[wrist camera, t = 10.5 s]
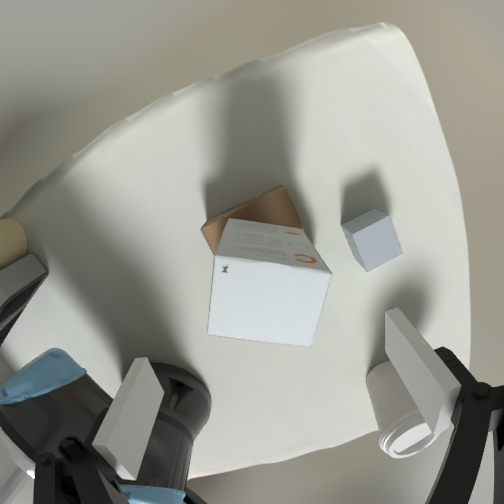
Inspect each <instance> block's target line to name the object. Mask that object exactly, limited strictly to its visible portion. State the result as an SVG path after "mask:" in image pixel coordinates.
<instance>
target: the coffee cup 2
mask: <svg viewBox="0 0 504 504" xmlns="http://www.w3.org/2000/svg"><path fill="white" fill-rule="evenodd" d="M366 385H367V389H368V392H369V396H370V399H371V403H372V406H373V410H374V413H375V417H376V421H377V425H378V428H379V432H380V436H381V437H380V439H379V446H380V447H381V448H382V450H383V451H385V452H386V453H388V454H389V455H390V456H392V457H394V458H403V457H408V456H411V455H414V454H416V453H418V452H420V451H422V450H423V449H425V448H426V447H427V446H429V445H430V444H431V443H432V442H433V441H434V440H435V439H436V438H437V437H438V435H439V433H440V432H439V433H437V434H435V435H433V434H432V432H431V430H430V428H429V427H428V425H427V423H426V421H425V419H424V418H423V416H422V414H421V412H420V410H419V409H418V407H417V405H416V403H415V401H414V400H413V398H412V396H411V394H410V393H409V391H408V389H407V388H406V386H405V384H404V382H403V381H402V379H401V377H400V376H399V374H398V372H397V371H396V369H395V367H394V366H393V364H392V362H391V361H385V362H382V363H380V364H378V365H376V366H375V367H374V368H373V369H372V370H371V371H370V372H369V373H368V375H367V377H366Z"/></svg>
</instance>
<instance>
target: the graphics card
mask: <svg viewBox="0 0 504 504" xmlns="http://www.w3.org/2000/svg"><path fill="white" fill-rule="evenodd" d="M47 276H48V272H47V270H46V269H45V268H44V267H43V265H42V264H41V263H40V261H39V260H38V259H37V257H36V256H35V255H34V253H31V254H29V255H27V256H25V257H23V258H21V259H19V260H18V261H16V262H14V263H12V264H11V265H9V266H7V267H5V268H4V269H2V270H0V346H1V344H2V343H3V341H4V339H5V338H6V336H7V335H8V333H9V331H10V330H11V328H12V327H13V325H14V324H15V322H16V320H17V319H18V318H19V316H20V314H21V313H22V312H23V310H24V308H25V307H26V305H27V304H28V302H29V301H30V300H31V298H32V297H33V295H34V294H35V293H36V291H37V290H38V288H39V287H40V286H41V284H42V283H43V282H44V280H45V279H46V278H47Z"/></svg>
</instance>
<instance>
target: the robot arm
mask: <svg viewBox="0 0 504 504" xmlns="http://www.w3.org/2000/svg"><path fill="white" fill-rule="evenodd" d="M385 352H386V354H387V356H388V357H389V359H390V361H391V362H392V364H393V366H394V367H395V369H396V371H397V372H398V374H399V376H400V377H401V379H402V381H403V382H404V384H405V386H406V388H407V389H408V391H409V393H410V394H411V396H412V398H413V400H414V401H415V403H416V405H417V407H418V409H419V410H420V412H421V414H422V416H423V418H424V419H425V421H426V423H427V425H428V427H429V428H430V430H431V432H432V434H433V435H435V434H437V433H439V432H441V431H444V430H446V429H448V427H449V424H450V421H452V423H453V424H454V426H455V427H454V430H453V432H452V435H451V438H450V442H449V446H448V448H447V451H446V454H445V457H444V460H443V462H442V465H441V468H440V470H439V473H438V475H437V478H436V480H435V483H434V485H433V487H432V489H431V492H430V494H429V496H428V498H427V501H426V503H425V504H468V502H469V499H470V496H471V493H472V491H473V487H474V484H475V481H476V478H477V475H478V471H479V468H480V464H481V460H482V456H483V452H484V448H485V443H486V439H487V435H488V432H490V431H493V441H494V501H493V504H504V385H503V386H498V387H491V386H490V385H489V384H487V383H484V382H477V381H476V380H475V378H474V377H473V376H472V375H471V373H470V372H469V371H468V370H467V369H466V367H465V366H464V365H463V364H461V361H460V360H459V359H457V357H456V356H455V354H454V353H453V352H452V351H451V350H449V349H447V348H445V347H440V348H437V349H435V350H433V349H432V348H431V346H430V345H429V344H428V343H427V341H426V340H425V339H424V338H423V337H422V335H421V334H420V333H419V332H418V331H417V329H416V328H415V327H414V326H413V325H412V324H411V322H410V321H409V320H408V319H407V318H406V317H405V315H404V314H403V313H402V312H401V311H400V310H399V308H394V309H391V310H387V311H385ZM210 411H211V397H210V394H209V392H208V390H207V389H206V387H205V386H204V385H203V384H202V383H201V382H200V381H199V380H198V379H197V378H196V377H194V376H193V375H191V374H190V373H188V372H186V371H184V370H182V369H180V368H177V367H174V366H171V365H167V364H160V363H149V361H148V358H147V357H142V358H135V360H134V361H133V363H132V365H131V367H130V369H129V371H128V373H127V375H126V377H125V379H124V381H123V382H122V384H121V386H120V388H119V390H118V392H117V394H116V396H115V398H114V399H113V398H111V397H110V396H109V395H108V394H107V393H106V392H105V391H104V390H103V389H102V388H101V387H100V386H99V385H98V384H97V383H96V382H95V381H94V380H93V379H92V378H91V377H90V376H89V375H88V374H87V371H86V369H84V368H82V367H81V366H80V365H78V364H77V363H76V362H75V361H74V360H73V359H72V358H71V357H70V356H69V355H68V354H67V353H66V352H65V351H64V350H62V349H59V348H51V349H49V350H47V351H45V352H44V353H42V354H41V355H39V356H38V357H36V358H35V359H34V360H32V361H31V362H30V363H28V364H27V365H26V366H24V367H23V368H22V369H20V370H19V371H18V372H16V373H15V374H14V375H13V376H11V377H10V378H9V379H8V380H7V381H6V382H4V383H3V384H2V385H1V386H0V504H182V501H183V497H185V490H186V483H187V477H188V471H189V465H190V459H191V453H192V447H193V442H194V440H195V438H196V437H197V436H198V434H199V433H200V431H201V430H202V428H203V426H204V425H205V424H206V423H207V421H208V419H209V416H210Z"/></svg>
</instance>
